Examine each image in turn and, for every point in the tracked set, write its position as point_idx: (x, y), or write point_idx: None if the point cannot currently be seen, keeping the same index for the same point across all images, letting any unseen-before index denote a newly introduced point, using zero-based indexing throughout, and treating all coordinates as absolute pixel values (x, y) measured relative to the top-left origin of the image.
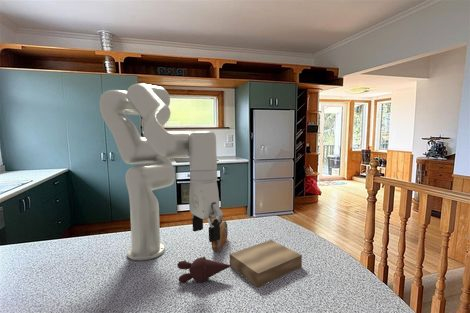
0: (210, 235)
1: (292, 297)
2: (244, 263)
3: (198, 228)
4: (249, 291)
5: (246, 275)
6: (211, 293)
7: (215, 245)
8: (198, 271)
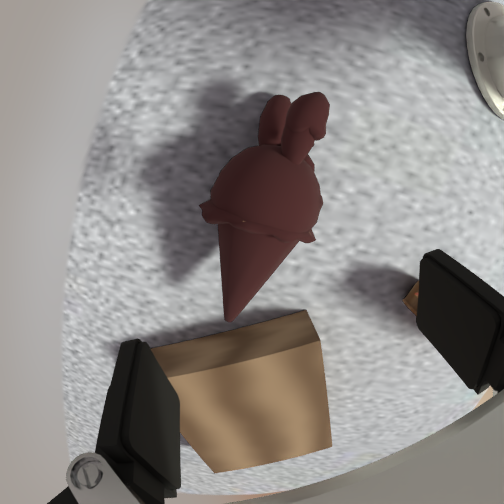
0: (117, 386)
1: (97, 391)
2: (222, 368)
3: (427, 301)
4: (135, 322)
5: (204, 344)
6: (154, 206)
7: (416, 301)
8: (220, 182)
